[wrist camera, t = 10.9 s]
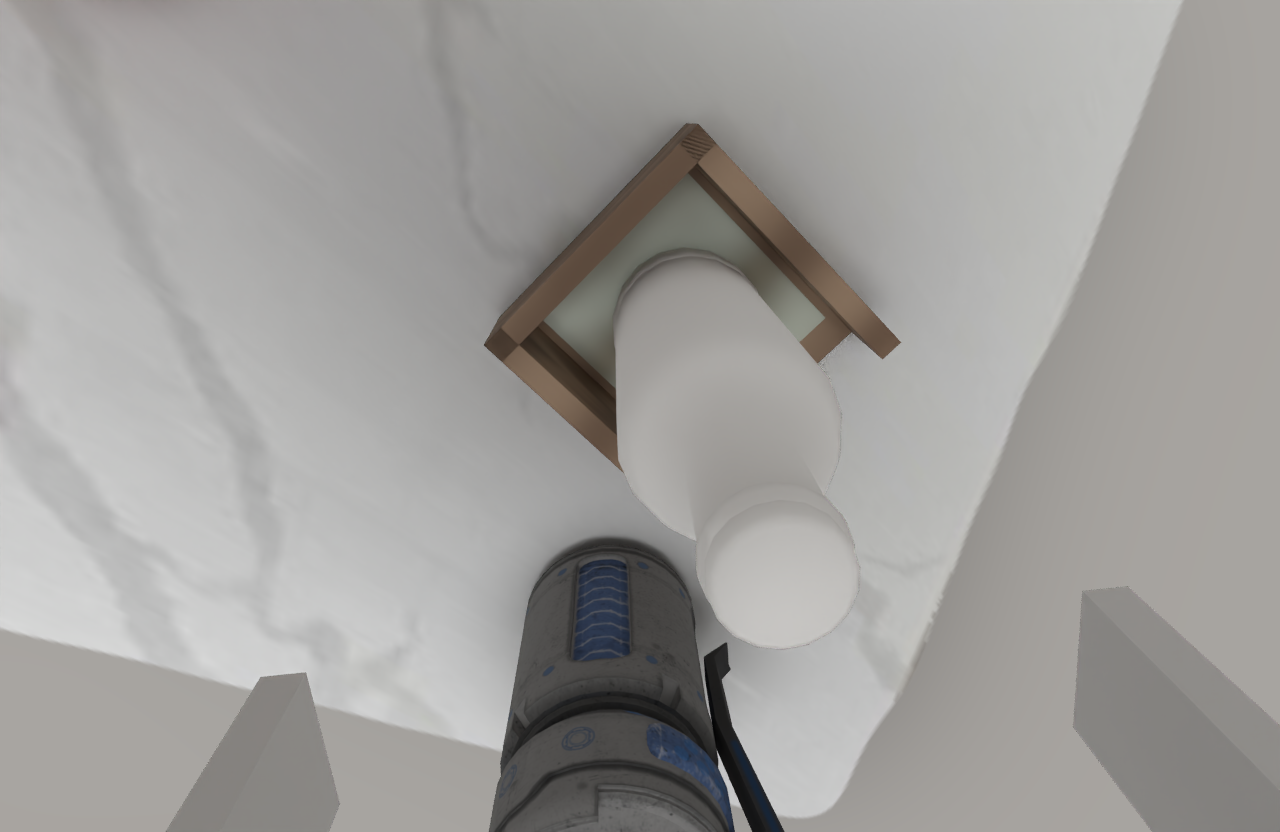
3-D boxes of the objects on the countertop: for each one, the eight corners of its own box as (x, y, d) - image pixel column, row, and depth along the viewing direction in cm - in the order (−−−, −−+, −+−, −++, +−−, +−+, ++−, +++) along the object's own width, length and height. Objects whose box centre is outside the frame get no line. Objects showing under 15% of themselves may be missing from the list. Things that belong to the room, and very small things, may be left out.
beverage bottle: (734, 668, 57) (821, 1056, 34) (527, 687, 57) (468, 1088, 34) (726, 523, 54) (815, 839, 30) (506, 543, 54) (425, 874, 30)
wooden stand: (499, 316, 50) (483, 345, 43) (686, 123, 47) (698, 123, 41) (680, 485, 53) (690, 533, 47) (865, 314, 50) (901, 342, 44)
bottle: (784, 288, 49) (1024, 521, 20) (713, 411, 51) (842, 778, 22) (655, 218, 48) (719, 364, 19) (587, 347, 50) (553, 651, 21)
